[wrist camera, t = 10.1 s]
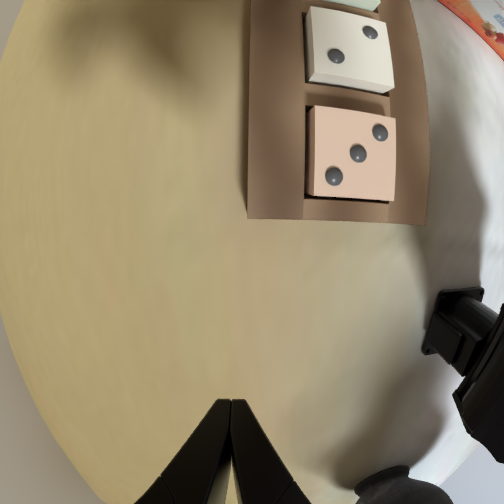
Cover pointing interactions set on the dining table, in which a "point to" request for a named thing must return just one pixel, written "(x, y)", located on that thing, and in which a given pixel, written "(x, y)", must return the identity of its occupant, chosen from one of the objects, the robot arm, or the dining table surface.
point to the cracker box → (482, 19)
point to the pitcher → (399, 489)
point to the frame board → (309, 95)
